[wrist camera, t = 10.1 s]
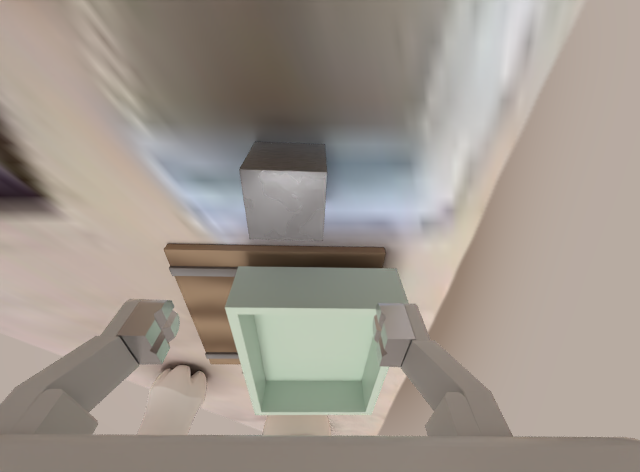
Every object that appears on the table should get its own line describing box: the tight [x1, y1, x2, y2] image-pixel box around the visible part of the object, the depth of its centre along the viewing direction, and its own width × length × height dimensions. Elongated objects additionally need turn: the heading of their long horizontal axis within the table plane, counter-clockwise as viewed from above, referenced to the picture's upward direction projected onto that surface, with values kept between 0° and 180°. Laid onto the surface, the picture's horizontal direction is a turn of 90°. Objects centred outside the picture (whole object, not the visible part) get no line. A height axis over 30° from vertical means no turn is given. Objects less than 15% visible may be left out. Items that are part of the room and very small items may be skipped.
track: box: [164, 244, 386, 364], centre depth 30 cm, size 20×20×1 cm
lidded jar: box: [262, 415, 331, 436], centre depth 41 cm, size 11×11×9 cm
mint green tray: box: [225, 266, 409, 415], centre depth 28 cm, size 20×14×6 cm
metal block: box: [239, 142, 327, 241], centre depth 19 cm, size 5×5×5 cm
